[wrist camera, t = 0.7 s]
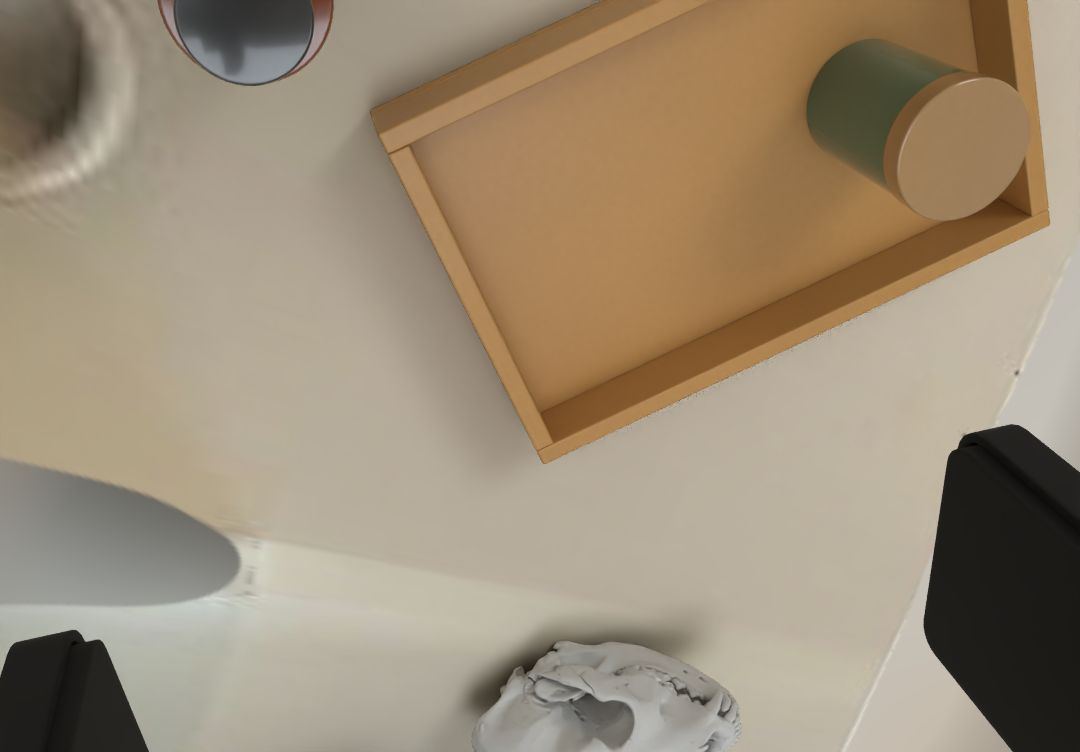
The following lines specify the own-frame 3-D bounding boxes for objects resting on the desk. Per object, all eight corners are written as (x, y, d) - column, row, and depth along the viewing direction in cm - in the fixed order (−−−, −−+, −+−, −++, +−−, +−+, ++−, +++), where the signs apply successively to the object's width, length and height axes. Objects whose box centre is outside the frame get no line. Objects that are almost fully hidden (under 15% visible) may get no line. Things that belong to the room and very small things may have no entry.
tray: (369, 110, 36) (377, 134, 34) (957, -169, 36) (1011, -166, 34) (527, 426, 45) (543, 465, 42) (1005, 200, 45) (1051, 225, 42)
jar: (791, 69, 39) (885, 117, 33) (907, 13, 39) (1023, 52, 33) (818, 181, 41) (910, 244, 35) (927, 129, 41) (1037, 184, 35)
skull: (450, 693, 48) (684, 778, 42) (541, 582, 55) (754, 642, 49) (473, 806, 52) (691, 898, 46) (556, 689, 58) (756, 756, 52)
